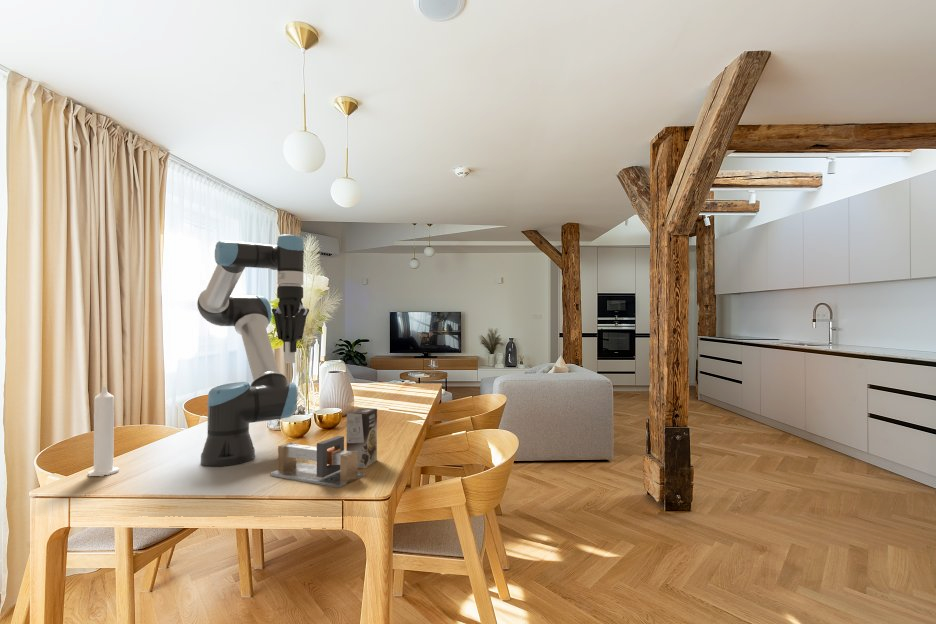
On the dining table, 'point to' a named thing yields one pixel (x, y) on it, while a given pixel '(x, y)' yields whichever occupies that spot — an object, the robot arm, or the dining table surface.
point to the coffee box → (363, 435)
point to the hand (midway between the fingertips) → (289, 363)
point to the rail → (309, 471)
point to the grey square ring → (322, 455)
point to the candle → (103, 434)
